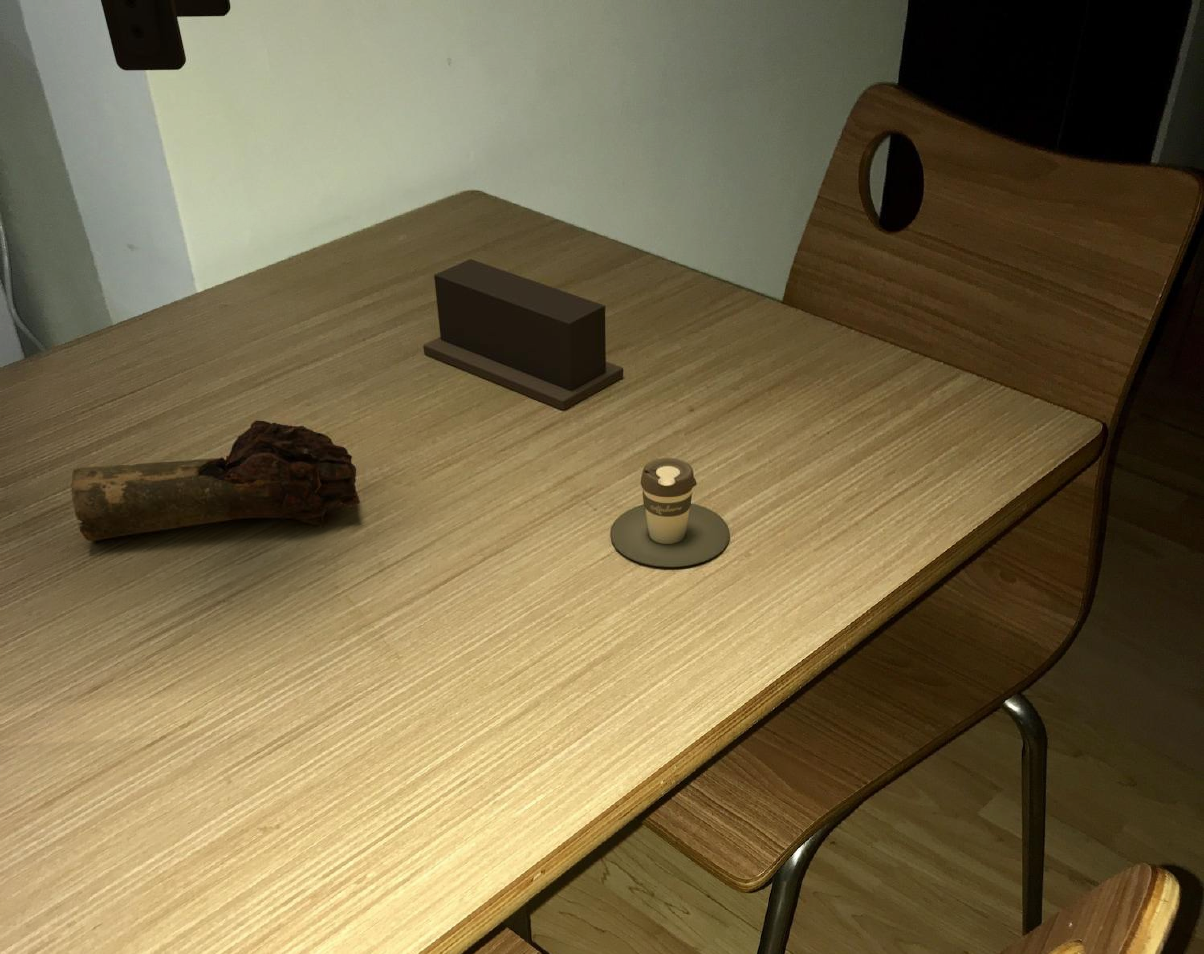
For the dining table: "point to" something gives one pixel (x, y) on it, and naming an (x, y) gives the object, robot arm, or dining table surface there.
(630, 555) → the coffee cup
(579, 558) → the dining table surface
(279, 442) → the gnarled wood log
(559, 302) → the dark brown block stand
